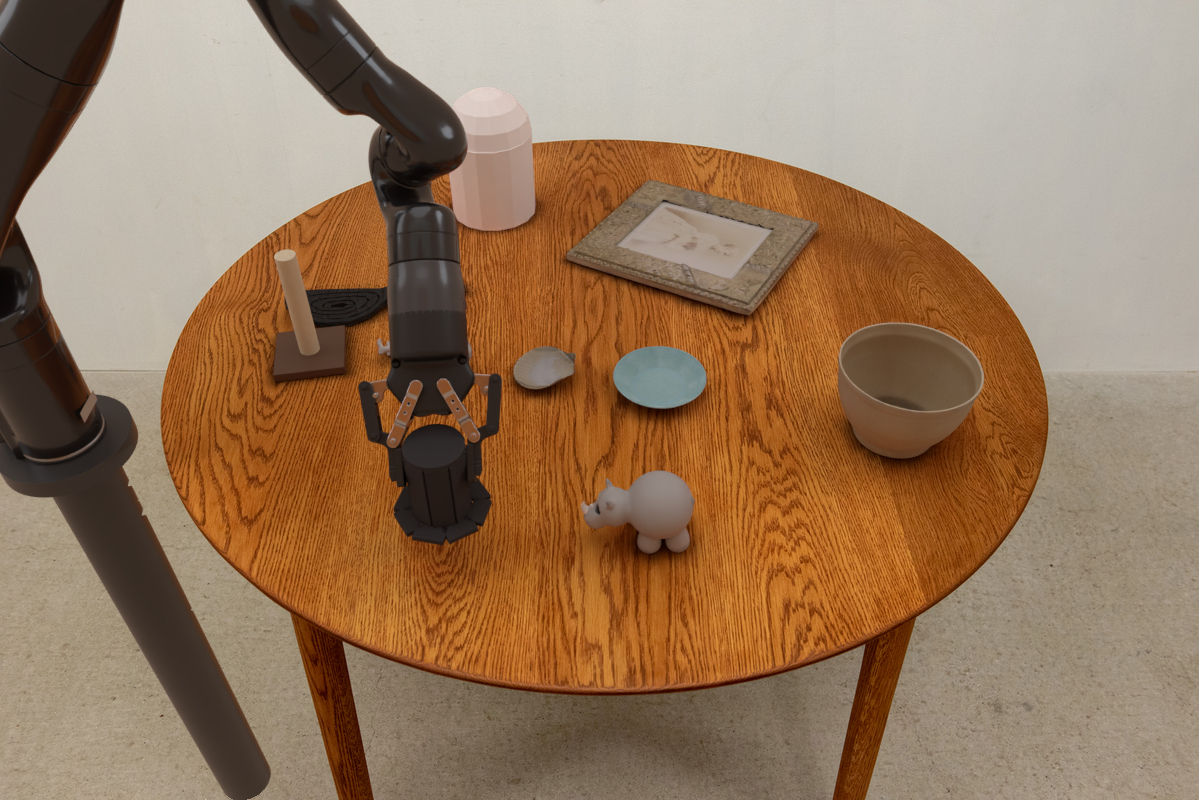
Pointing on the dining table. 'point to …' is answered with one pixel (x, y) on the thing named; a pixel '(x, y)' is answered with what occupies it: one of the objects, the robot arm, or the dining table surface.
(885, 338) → the planter bowl
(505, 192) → the container
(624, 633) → the dining table surface
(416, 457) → the hat
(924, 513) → the dining table surface
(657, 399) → the saucer
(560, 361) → the seashell
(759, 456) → the dining table surface
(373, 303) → the hairbrush
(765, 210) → the picture frame
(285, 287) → the stand
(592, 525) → the round bodied animal figurine
